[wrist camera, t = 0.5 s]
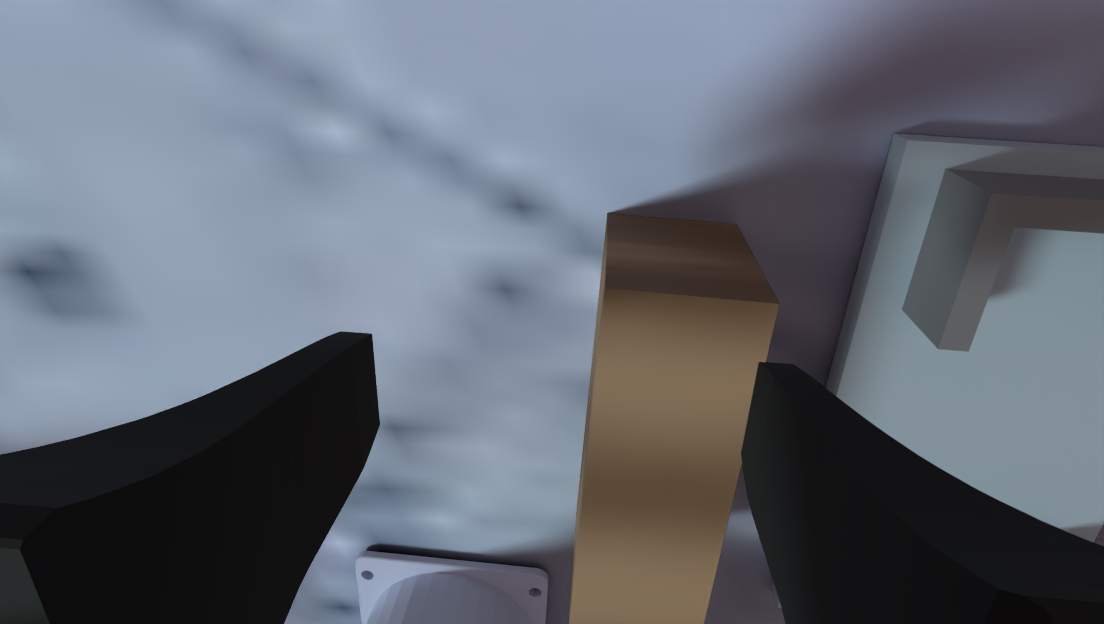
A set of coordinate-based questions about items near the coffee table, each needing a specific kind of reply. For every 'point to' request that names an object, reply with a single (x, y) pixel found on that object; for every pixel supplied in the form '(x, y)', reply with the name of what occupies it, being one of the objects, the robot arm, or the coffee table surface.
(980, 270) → the board
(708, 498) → the tan wooden block
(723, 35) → the coffee table surface
